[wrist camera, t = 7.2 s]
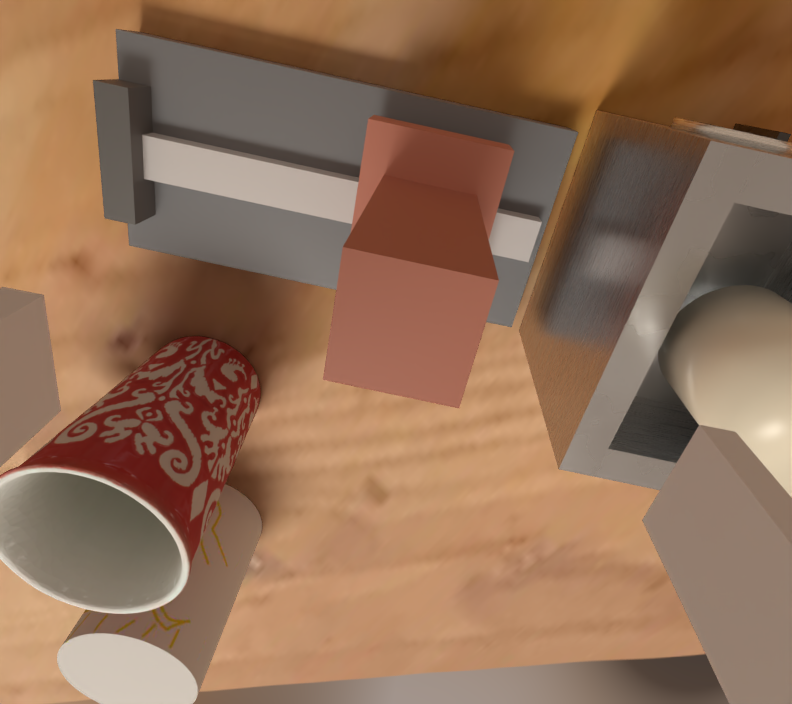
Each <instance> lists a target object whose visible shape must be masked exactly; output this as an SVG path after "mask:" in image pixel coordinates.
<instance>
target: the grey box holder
mask: <svg viewBox="0 0 792 704" xmlns="http://www.w3.org/2000/svg"><path fill="white" fill-rule="evenodd" d="M790 135H791V134H787V133H783V132H778V131H773V130H767V129H762V128H757V127H751V126H746V125H740V124H735V126H734V128H733V130H732V129H728V128H723V127H719V126H714V125H710V124H705V123H701V122H696V121H691V120H687V119H682V118H677V117H675V118H674V120H673V123H672V125H671V127H670V126H666V125H661V124H657V123H652V122H648V121H643V120H639V119H635V118H630V117H626V116H621V115H617V114H612V113H608V112H603V111H599V110H597V111H596V113H595V116H594V119H593V122H592V125H591V128H590V131H589V133H588V136H587V139H586V142H585V145H584V148H583V150H582V153H581V156H580V159H579V162H578V165H577V167H576V170H575V173H574V176H573V179H572V182H571V185H570V187H569V190H568V193H567V196H566V199H565V202H564V204H563V207H562V210H561V213H560V216H559V219H558V221H557V224H556V227H555V230H554V233H553V236H552V239H551V241H550V244H549V247H548V250H547V253H546V256H545V258H544V261H543V264H542V267H541V270H540V273H539V276H538V278H537V281H536V284H535V287H534V290H533V293H532V295H531V298H530V301H529V304H528V307H527V310H526V312H525V315H524V318H523V321H522V324H521V327H520V330H519V332H520V336H521V339H522V343H523V346H524V350H525V353H526V357H527V360H528V364H529V367H530V371H531V374H532V378H533V381H534V385H535V388H536V392H537V395H538V399H539V402H540V406H541V409H542V413H543V416H544V420H545V423H546V427H547V430H548V434H549V437H550V441H551V444H552V448H553V451H554V455H555V458H556V462H557V465H558V469H560V470H565V471H570V472H575V473H580V474H584V475H589V476H594V477H599V478H604V479H608V480H613V481H618V482H623V483H628V484H632V485H637V486H642V487H647V488H652V489H656V490H661V488H662V486H663V485H664V483H665V481H666V480H667V478H668V476H669V475H670V473H671V471H672V470H673V468H674V466H675V465H676V463H677V461H678V460H679V458H680V456H681V455H682V453H683V451H684V450H685V448H686V446H687V445H688V443H689V441H690V440H691V438H692V436H693V435H694V433H695V431H696V430H697V428H698V426H699V425H698V423H697V422H696V421H695V419H694V418H693V416H692V415H691V414H690V412H689V411H688V409H687V408H686V407H685V405H684V404H683V402H682V401H681V400H680V398H679V397H678V395H677V394H676V393H675V391H674V390H673V388H672V387H671V386H670V384H669V383H668V381H667V380H666V379H665V377H664V375H663V374H662V372H661V369H660V366H659V361H658V351H659V349H660V347H661V345H662V343H663V341H664V339H665V337H666V335H667V333H668V331H669V329H670V327H671V325H672V323H673V321H674V319H675V318H676V316H677V314H678V312H679V311H680V310H682V309H683V308H684V307H685V306H686V305H688V304H689V303H690V302H692V301H693V300H695V299H697V298H698V297H700V296H702V295H704V294H706V293H709V292H711V291H714V290H717V289H720V288H724V287H729V286H737V285H752V286H758V287H762V288H766V289H769V290H771V291H773V292H775V293H777V294H778V295H780V296H781V297H783V298H784V299H786V300H787V301H789V302H790V303H792V143H790V142H787V141H788V139H789V137H790Z"/></svg>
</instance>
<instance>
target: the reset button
mask: <svg viewBox="0 0 792 704" xmlns="http://www.w3.org/2000/svg"><path fill="white" fill-rule="evenodd" d="M658 361H659V366H660V369H661V372H662V374H663V375H664V377H665V379H666V380H667V381H668V383H669V384H670V386H671V387H672V388H673V390H674V391H675V393H676V394H677V395H678V397H679V398H680V400H681V401H682V402H683V404H684V405H685V407H686V408H687V409H688V411H689V412H690V414H691V415H692V416H693V418H694V419H695V421H696V422H697V423H698V425H704V426H709V427H714V428H719V429H724V430H729V431H735V432H736V433H737V434H738V435H739V436H740V437H741V439H742V440H743V441H744V442H745V443H746V445H747V446H748V447H749V448H750V449H751V450H752V452H753V453H754V454H755V455H756V456H757V457H758V459H759V460H760V461H761V462H762V463H763V465H764V466H765V467H766V468H767V469H768V470H769V472H770V473H771V474H772V475H773V476H774V478H775V479H776V480H777V481H778V482H779V483H780V485H781V486H782V487H783V488H784V489H785V490H786V492H787V493H788V494H789V495H790V496H791V497H792V303H790V302H789V301H787V300H786V299H784V298H783V297H781V296H780V295H778V294H777V293H775V292H773V291H771V290H769V289H766V288H762V287H758V286H752V285H737V286H729V287H724V288H720V289H717V290H714V291H711V292H709V293H706V294H704V295H702V296H700V297H698V298H697V299H695V300H693V301H692V302H690V303H689V304H688V305H686V306H685V307H684V308H683V309H682V310H680V311H679V312H678V314H677V316H676V318H675V319H674V321H673V323H672V325H671V327H670V329H669V331H668V333H667V335H666V337H665V339H664V341H663V343H662V345H661V347H660V349H659V351H658Z"/></svg>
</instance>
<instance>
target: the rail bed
mask: <svg viewBox="0 0 792 704" xmlns="http://www.w3.org/2000/svg"><path fill="white" fill-rule="evenodd" d="M116 41H117V57H118V73H119V79H116V80H93V86H94V98H95V110H96V122H97V134H98V146H99V158H100V170H101V182H102V194H103V206H104V217H105V218H106V219H110V220H115V221H120V222H124V223H128V235H129V246H134V247H139V248H143V249H148V250H153V251H157V252H162V253H167V254H172V255H176V256H181V257H186V258H190V259H195V260H200V261H204V262H209V263H214V264H218V265H223V266H228V267H232V268H237V269H242V270H246V271H251V272H256V273H260V274H265V275H270V276H274V277H279V278H284V279H288V280H293V281H298V282H302V283H307V284H312V285H316V286H321V287H326V288H330V289H335V290H336V289H337V282H338V276H339V269H340V262H341V255H342V249H343V246H344V244H345V242H346V240H347V239H348V237H349V235H350V233H351V227H352V221H353V214H354V208H355V201H356V195H357V188H358V182H359V175H360V169H361V162H362V156H363V150H364V143H365V137H366V130H367V124H368V118H370V117H372V116H373V115H378V116H382V117H387V118H391V119H396V120H400V121H405V122H409V123H414V124H418V125H423V126H427V127H432V128H436V129H441V130H445V131H450V132H454V133H459V134H463V135H468V136H472V137H477V138H481V139H486V140H490V141H495V142H499V143H504V144H508V145H510V146H511V148H512V149H513V150H514V154H513V158H512V161H511V165H510V168H509V172H508V175H507V178H506V182H505V185H504V189H503V192H502V196H501V199H500V203H499V206H498V209H497V213H496V216H495V220H494V223H493V227H492V230H491V234H490V237H489V244H490V248H491V252H492V256H493V259H494V263H495V267H496V271H497V275H498V279H499V282H498V285H497V289H496V292H495V295H494V298H493V301H492V305H491V308H490V311H489V314H488V317H487V321H486V322H489V323H494V324H499V325H503V326H508V327H512V324H513V321H514V318H515V315H516V312H517V310H518V307H519V304H520V301H521V298H522V295H523V292H524V289H525V286H526V283H527V280H528V277H529V275H530V272H531V269H532V266H533V263H534V260H535V257H536V254H537V251H538V248H539V245H540V242H541V239H542V237H543V234H544V231H545V228H546V225H547V222H548V219H549V216H550V213H551V210H552V207H553V204H554V201H555V199H556V196H557V193H558V190H559V187H560V184H561V181H562V178H563V175H564V172H565V169H566V166H567V164H568V161H569V158H570V155H571V152H572V149H573V146H574V143H575V140H576V137H577V134H578V132H577V131H574V130H572V129H570V128H567V127H563V126H558V125H554V124H549V123H545V122H540V121H536V120H531V119H527V118H522V117H518V116H513V115H509V114H504V113H500V112H496V111H491V110H487V109H482V108H478V107H473V106H469V105H464V104H460V103H455V102H451V101H446V100H442V99H437V98H433V97H428V96H424V95H419V94H415V93H410V92H406V91H401V90H397V89H393V88H388V87H384V86H379V85H375V84H370V83H366V82H361V81H357V80H352V79H348V78H343V77H339V76H334V75H330V74H325V73H321V72H316V71H312V70H307V69H303V68H298V67H294V66H290V65H285V64H281V63H276V62H272V61H267V60H263V59H258V58H254V57H249V56H245V55H240V54H236V53H231V52H227V51H222V50H218V49H213V48H209V47H204V46H200V45H195V44H191V43H187V42H182V41H178V40H173V39H169V38H164V37H160V36H155V35H151V34H146V33H142V32H136V31H127V30H119V29H116Z"/></svg>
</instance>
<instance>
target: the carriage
mask: <svg viewBox="0 0 792 704" xmlns="http://www.w3.org/2000/svg"><path fill="white" fill-rule="evenodd" d="M513 154H514V150H513V149H512V148H511V146H510V145H508V144H504V143H499V142H495V141H490V140H486V139H481V138H477V137H472V136H468V135H463V134H459V133H454V132H450V131H445V130H441V129H436V128H432V127H427V126H423V125H418V124H414V123H409V122H405V121H400V120H396V119H391V118H387V117H382V116H378V115H373V116H372V117H370V118H368V124H367V130H366V137H365V143H364V150H363V156H362V162H361V169H360V175H359V182H358V188H357V195H356V201H355V208H354V214H353V221H352V227H351V233H350V235H349V237H348V239H347V240H346V242H345V244H344V246H343V249H342V255H341V262H340V269H339V276H338V282H337V289H336V296H335V302H334V309H333V316H332V323H331V329H330V336H329V343H328V349H327V356H326V363H325V370H324V376H323V380H327V381H332V382H336V383H341V384H346V385H351V386H355V387H360V388H365V389H370V390H374V391H379V392H384V393H389V394H394V395H398V396H403V397H408V398H413V399H417V400H422V401H427V402H432V403H436V404H441V405H446V406H451V407H455V408H459V407H460V404H461V400H462V397H463V394H464V391H465V388H466V384H467V381H468V378H469V375H470V372H471V368H472V365H473V362H474V359H475V356H476V352H477V349H478V346H479V343H480V340H481V337H482V333H483V330H484V327H485V324H486V321H487V317H488V314H489V311H490V308H491V305H492V301H493V298H494V295H495V292H496V289H497V285H498V282H499V279H498V275H497V271H496V267H495V263H494V259H493V256H492V252H491V248H490V244H489V237H490V234H491V230H492V227H493V223H494V220H495V216H496V213H497V209H498V206H499V203H500V199H501V196H502V192H503V189H504V185H505V182H506V178H507V175H508V172H509V168H510V165H511V161H512V158H513Z"/></svg>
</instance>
